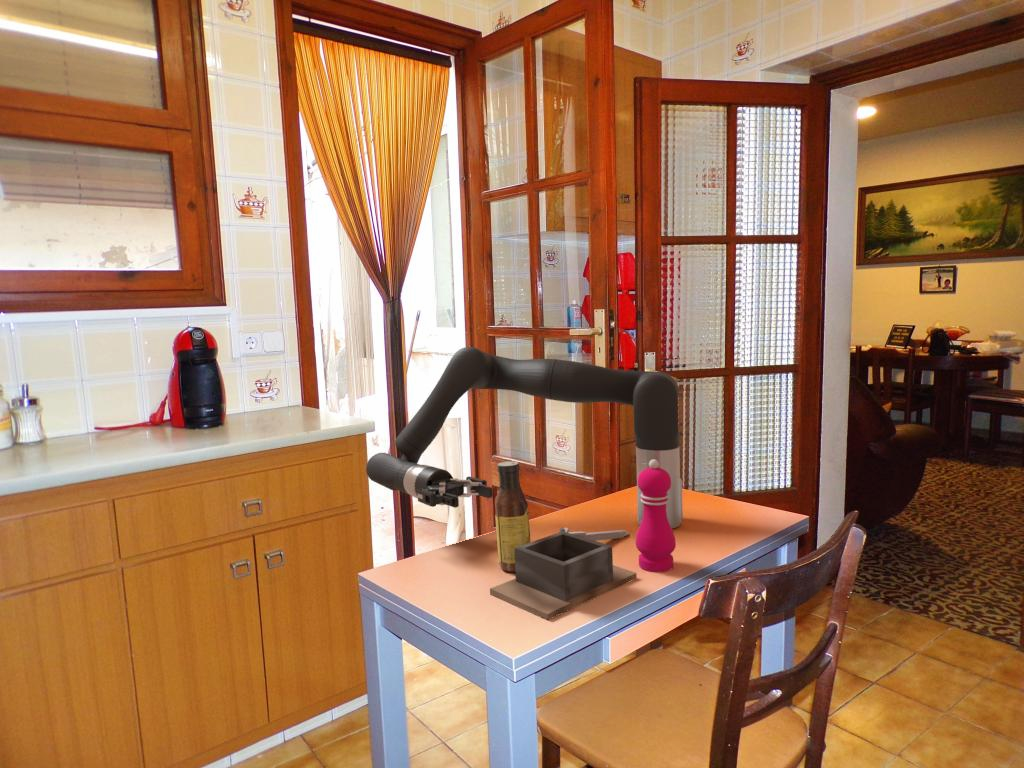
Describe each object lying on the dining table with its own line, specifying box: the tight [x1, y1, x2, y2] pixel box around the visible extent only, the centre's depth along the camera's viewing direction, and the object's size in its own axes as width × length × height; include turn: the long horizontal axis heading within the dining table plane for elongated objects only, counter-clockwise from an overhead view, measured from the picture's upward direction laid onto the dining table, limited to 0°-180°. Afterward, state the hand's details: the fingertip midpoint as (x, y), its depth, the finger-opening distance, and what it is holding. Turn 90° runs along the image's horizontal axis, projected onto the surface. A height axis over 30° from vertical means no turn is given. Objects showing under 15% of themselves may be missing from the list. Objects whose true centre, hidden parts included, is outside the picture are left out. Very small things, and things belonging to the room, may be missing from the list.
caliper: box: [559, 526, 631, 542], centre depth 135 cm, size 20×1×6 cm, turn 130°
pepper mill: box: [635, 459, 677, 573], centre depth 123 cm, size 7×7×20 cm
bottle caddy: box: [489, 531, 638, 620], centre depth 117 cm, size 22×14×7 cm, turn 131°
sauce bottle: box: [494, 460, 532, 573], centre depth 126 cm, size 7×6×20 cm
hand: (474, 497), depth 134 cm, fingers open, 8 cm apart
